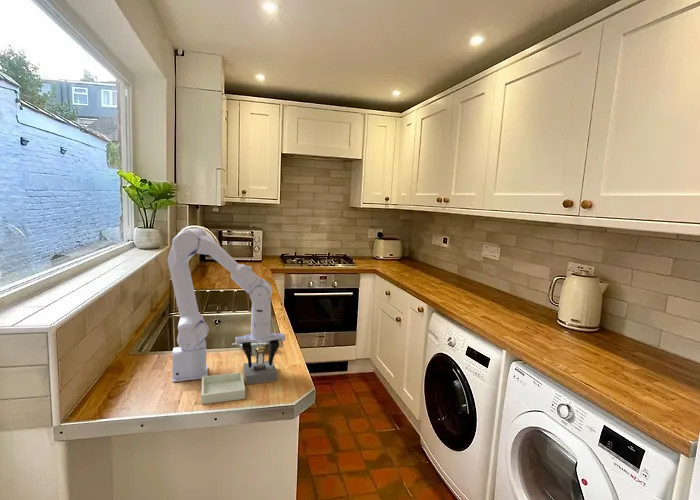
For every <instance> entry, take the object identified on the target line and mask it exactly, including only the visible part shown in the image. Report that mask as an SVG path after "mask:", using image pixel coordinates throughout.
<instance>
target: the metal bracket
mask: <svg viewBox="0 0 700 500" xmlns="http://www.w3.org/2000/svg"><path fill="white" fill-rule="evenodd" d="M231 344H232V346H237V345H236V343H235V342H234V343H231ZM263 345H269V342H265V343H251V348H252V351H251V357H252V356H256V352H255V348H256V347H259V346H263ZM239 346H240V347H243V346H242V344H240V345H239Z"/></svg>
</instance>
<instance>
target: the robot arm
mask: <svg viewBox="0 0 700 500" xmlns="http://www.w3.org/2000/svg"><path fill="white" fill-rule="evenodd" d="M195 254H197V255H198V254H199V255H207V256H210V257H211V258H212V259H214V261H215V262H218V264H220V265H221V266H222V267H223V268H225V269H226V270H227V271H228V272H229V273H230V280H232V281H233V282H234V283H235V284H237V286H239V287H240V288H241V289H242V290H243V291H244V292H246V293H247V294H249V295H248V296H249V299H250V301H251V310H250V311H251V313H250V314H251V318H250V319H251V320H250V323H251V324H250V334H245V335H241V336H235V342H234V343H236V345H235V346H240V344H242V346H241V347H242V349H243V351H244V354H245V356H246V358H247V363H248V366H249V368H251V366H252V364H251V363H252V345H251V343H265V342H269V344H268V361H269V365H272V361H273V360H274V357H275V354H276V353H277V351H278V349H279V347H280V342H285V341H286V334H285V333H280V332H279V333H276V332H274V333H273V332H271V327H272V325H271V324H272V323H271V321H272V320H271V319H272V318H271V317H272V304H271V303H272V301H271V296H272V295H273V286H272V285H271V284H270V282H269V281H268V280H265V279H264V278H263V277H260V276H258V275H257V274H256V273H255V272H254V271H253V267H252V266H250V265H248V266H247V265H246V264H243V263H242V264H240V263H238V262H237V261H236V260H235V259H234V258H233V257H232V256H231V255H230V254H229V253H228V252H227V251H226V250H225V249H224V248H223V247H222V246H221V245H220V244H219V243H218V242H217V241H216V240H215V239H214V238H213V237H212V236H211V235H210V234H207V233H206V232H205V230H203V229H202V228H198V227H197V228H192V229H184V230H181V231H180V232H178V233H177V234H176V235H175V236H174V237H173V238H172V240H171V247H170V250H169V253H168V256H167V264H168V269H169V273H170V279H171V282H172V287H173V292H174V296H175V297H174V298H175V300H176V306H177V309H178V315H179V321H178V325H177V330H178V333H177V338H176V342H177V345H178V346H177V347H176V346H175V347H173V348H172V366H171V373H172V382H173V383H176V382H183V381H184V382H185V381H193V380H202V376H209V375H208V374H209V371H208V368H209V367H208V365H207V342H206V337H208V335H209V332H210V331H209V330H210V329H209V325H208V324H207V323H206V321H205V320H204V316H203V315H202V314H201V312H199V307H198V302H197V301H198V300H197V298H196V297H197V296H196V291H195V288H194V283H193V278H192V274H191V269H190V265H189V264H190V263H189V262H190V260H191V259H192V258H193V257H194V256H195ZM273 362H274V361H273Z"/></svg>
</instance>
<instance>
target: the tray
mask: <svg viewBox="0 0 700 500" xmlns="http://www.w3.org/2000/svg"><path fill="white" fill-rule="evenodd" d="M244 380H245V379H244V374H243V372H242V371H240V372H239V371H238V372H232V373H223V374H212V375H208V376H202V379H201V396H200V397H201V405H206V404H208V405H209V404H212V403H213V404H215V403H222V402H230V401H235V400H242V399H243V400H244V399H246V387H245V381H244Z"/></svg>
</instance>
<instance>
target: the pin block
mask: <svg viewBox="0 0 700 500" xmlns="http://www.w3.org/2000/svg"><path fill="white" fill-rule="evenodd" d="M251 364H252V366H251V368H249V366H248V362H247V363H246V362H245V363H243V366H242V367H243V369H242V371H243V372H242V373H243V377H244V380H245V381H244V382H245V384H246V385H252V384H253V385H254V384H259V383H261V384H262V383H267V382H269V383H270V382H274V381H275V382H276V381H277V382H278V371H277V369H276V366H275V364H274V361H272V365H269V360H264V370H261V371H256V361H254V362H251Z"/></svg>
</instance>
